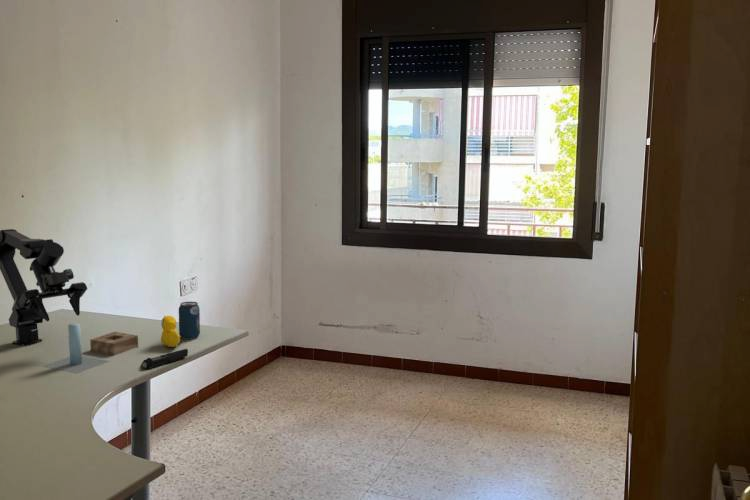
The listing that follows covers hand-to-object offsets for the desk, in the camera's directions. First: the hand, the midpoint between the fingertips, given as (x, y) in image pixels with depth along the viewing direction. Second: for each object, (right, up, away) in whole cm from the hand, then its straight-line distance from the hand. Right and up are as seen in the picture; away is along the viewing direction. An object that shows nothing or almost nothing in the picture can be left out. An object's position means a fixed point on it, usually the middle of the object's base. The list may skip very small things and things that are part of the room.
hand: (63, 317), depth 192 cm
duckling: (+27, -11, +16) cm, 34 cm away
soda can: (+31, -10, +27) cm, 42 cm away
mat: (+6, -14, -4) cm, 15 cm away
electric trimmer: (+31, -14, 0) cm, 34 cm away
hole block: (+11, -11, +11) cm, 19 cm away
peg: (+6, -13, -4) cm, 15 cm away
